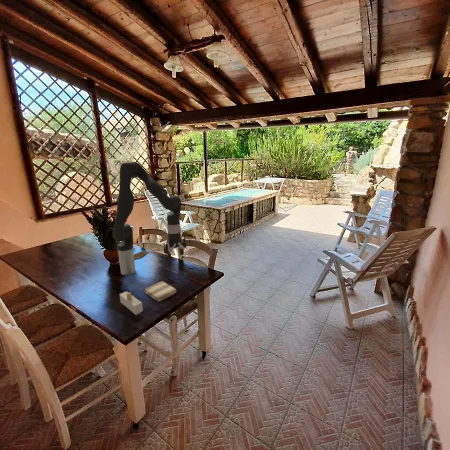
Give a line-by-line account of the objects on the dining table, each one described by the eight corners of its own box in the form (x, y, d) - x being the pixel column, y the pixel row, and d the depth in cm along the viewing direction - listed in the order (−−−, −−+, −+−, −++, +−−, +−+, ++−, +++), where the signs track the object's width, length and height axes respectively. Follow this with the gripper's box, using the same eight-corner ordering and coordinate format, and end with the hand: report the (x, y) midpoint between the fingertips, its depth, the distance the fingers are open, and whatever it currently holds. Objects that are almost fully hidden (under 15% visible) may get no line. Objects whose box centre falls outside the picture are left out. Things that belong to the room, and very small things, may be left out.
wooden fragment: (144, 250, 206) (144, 249, 206) (152, 254, 199) (152, 253, 199) (114, 261, 187) (114, 260, 187) (122, 265, 180) (122, 264, 180)
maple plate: (144, 293, 145) (144, 288, 145) (162, 285, 154) (162, 281, 153) (158, 302, 136) (158, 298, 136) (176, 293, 145) (176, 289, 144)
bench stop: (120, 302, 136) (118, 289, 134) (127, 299, 139) (126, 286, 137) (135, 314, 126) (133, 300, 123) (142, 311, 129) (141, 297, 126)
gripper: (180, 227, 151) (181, 252, 155) (159, 232, 141) (162, 259, 146) (188, 229, 146) (189, 255, 151) (167, 235, 136) (169, 262, 141)
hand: (175, 257), depth 148 cm, fingers open, 8 cm apart
